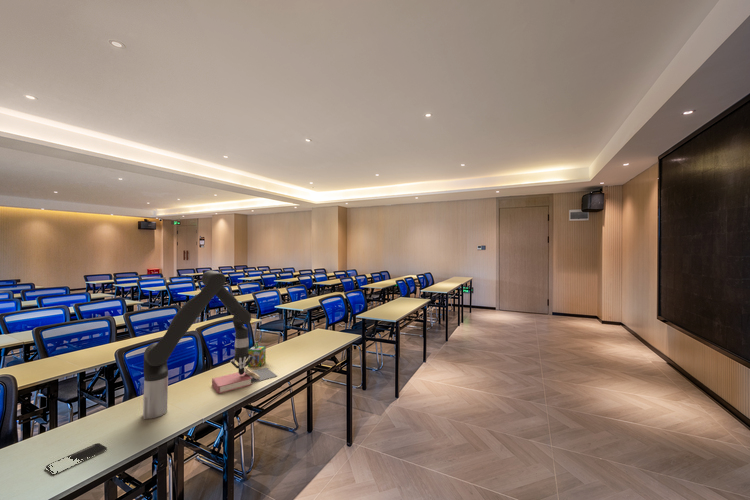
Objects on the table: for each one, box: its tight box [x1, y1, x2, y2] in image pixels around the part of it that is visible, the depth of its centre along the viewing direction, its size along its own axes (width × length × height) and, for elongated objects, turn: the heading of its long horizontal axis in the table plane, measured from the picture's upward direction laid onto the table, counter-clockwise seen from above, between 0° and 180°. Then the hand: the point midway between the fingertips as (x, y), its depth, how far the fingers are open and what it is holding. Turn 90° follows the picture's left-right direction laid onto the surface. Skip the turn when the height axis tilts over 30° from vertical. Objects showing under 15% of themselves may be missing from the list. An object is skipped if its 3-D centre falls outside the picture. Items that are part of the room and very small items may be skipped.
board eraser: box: [244, 367, 260, 380], centre depth 180 cm, size 9×6×2 cm
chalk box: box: [247, 342, 267, 368], centre depth 207 cm, size 9×9×15 cm
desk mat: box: [250, 367, 278, 384], centre depth 188 cm, size 16×18×1 cm
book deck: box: [211, 371, 253, 395], centre depth 173 cm, size 18×14×4 cm
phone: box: [45, 443, 108, 473], centre depth 110 cm, size 8×1×15 cm
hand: (241, 374), depth 177 cm, fingers closed
